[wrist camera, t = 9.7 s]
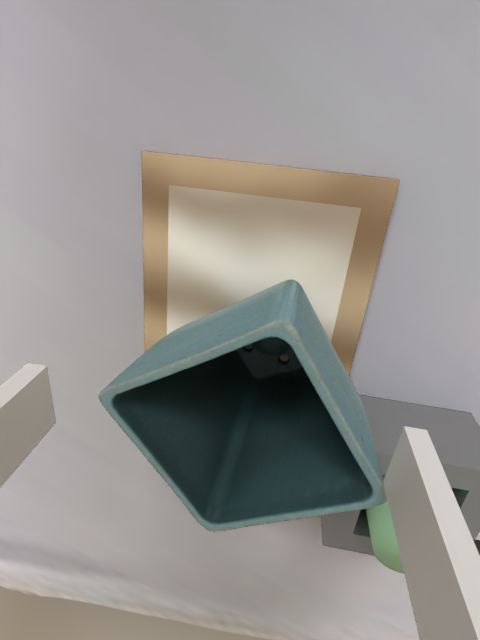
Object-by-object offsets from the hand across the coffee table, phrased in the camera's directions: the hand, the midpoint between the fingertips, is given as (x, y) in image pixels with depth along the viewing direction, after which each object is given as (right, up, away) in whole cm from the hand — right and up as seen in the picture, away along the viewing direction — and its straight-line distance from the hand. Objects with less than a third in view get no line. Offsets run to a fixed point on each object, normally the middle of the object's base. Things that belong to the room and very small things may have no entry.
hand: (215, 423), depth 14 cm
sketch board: (+1, +4, +9) cm, 10 cm away
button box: (+11, -5, +12) cm, 17 cm away
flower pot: (+3, +3, +9) cm, 10 cm away
